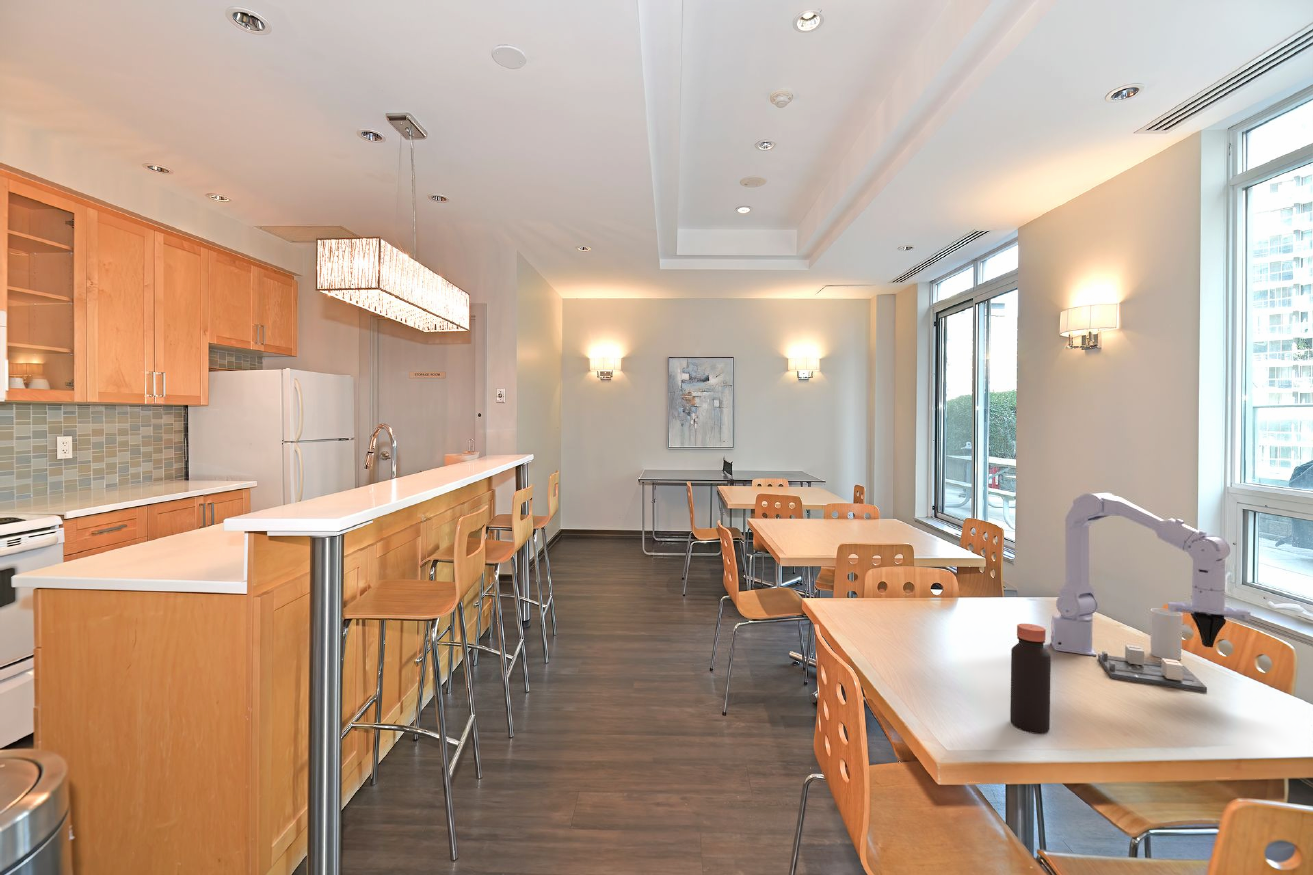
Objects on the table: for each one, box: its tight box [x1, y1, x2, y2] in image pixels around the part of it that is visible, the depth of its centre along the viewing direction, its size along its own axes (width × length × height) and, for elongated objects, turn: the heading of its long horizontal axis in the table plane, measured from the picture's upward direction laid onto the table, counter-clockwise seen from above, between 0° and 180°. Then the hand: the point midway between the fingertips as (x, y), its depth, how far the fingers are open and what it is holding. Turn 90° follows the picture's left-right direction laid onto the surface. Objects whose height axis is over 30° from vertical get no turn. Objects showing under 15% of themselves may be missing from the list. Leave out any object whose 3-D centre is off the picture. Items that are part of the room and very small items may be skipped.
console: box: [1097, 650, 1208, 694], centre depth 152 cm, size 18×15×3 cm
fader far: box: [1124, 644, 1145, 665], centre depth 157 cm, size 3×4×4 cm
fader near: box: [1161, 658, 1184, 681], centre depth 147 cm, size 3×4×4 cm
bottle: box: [1009, 623, 1052, 734], centre depth 124 cm, size 7×7×20 cm
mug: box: [1149, 608, 1184, 661], centre depth 167 cm, size 10×7×12 cm, turn 154°
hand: (1207, 645), depth 144 cm, fingers closed
